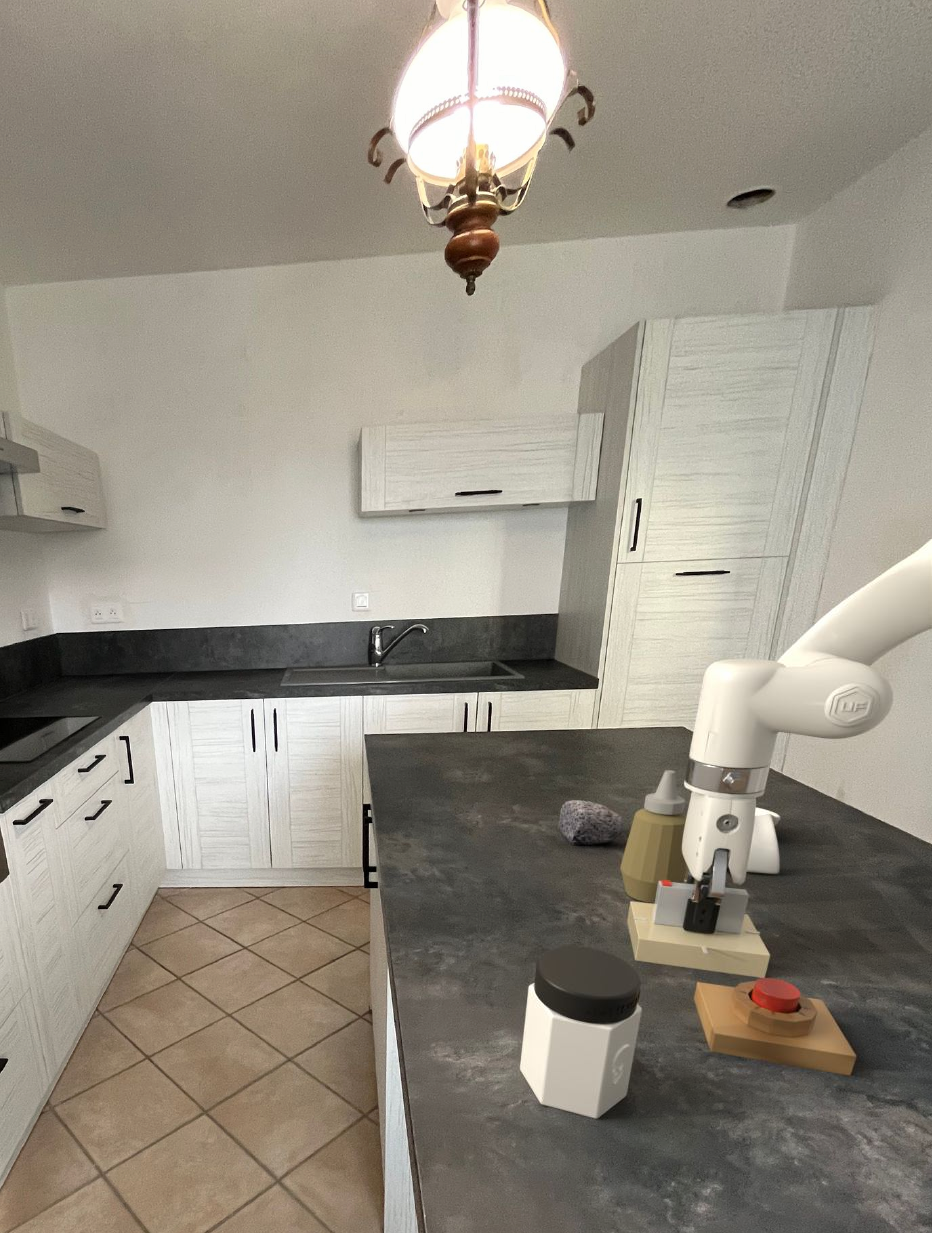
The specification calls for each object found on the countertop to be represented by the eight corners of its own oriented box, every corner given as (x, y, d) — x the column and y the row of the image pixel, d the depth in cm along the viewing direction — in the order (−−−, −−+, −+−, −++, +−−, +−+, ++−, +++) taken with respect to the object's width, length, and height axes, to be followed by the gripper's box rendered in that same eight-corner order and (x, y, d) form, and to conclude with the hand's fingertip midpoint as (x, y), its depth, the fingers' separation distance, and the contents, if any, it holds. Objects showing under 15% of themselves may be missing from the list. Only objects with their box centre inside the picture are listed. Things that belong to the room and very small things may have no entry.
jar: (583, 1134, 56) (602, 1012, 52) (502, 1079, 63) (513, 967, 58) (642, 1087, 61) (664, 972, 57) (561, 1041, 67) (575, 934, 63)
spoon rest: (687, 818, 122) (694, 780, 120) (763, 824, 119) (772, 785, 116) (715, 871, 102) (725, 826, 99) (809, 880, 98) (822, 833, 95)
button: (789, 996, 67) (794, 981, 66) (801, 1017, 64) (806, 1002, 63) (747, 990, 68) (750, 975, 67) (756, 1011, 65) (760, 995, 64)
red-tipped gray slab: (737, 927, 80) (746, 887, 79) (740, 934, 79) (749, 893, 77) (651, 917, 83) (658, 878, 82) (653, 923, 82) (660, 884, 80)
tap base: (740, 929, 86) (746, 907, 85) (769, 986, 74) (776, 961, 73) (625, 915, 90) (628, 894, 89) (635, 967, 79) (639, 943, 78)
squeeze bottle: (617, 879, 101) (635, 761, 94) (680, 888, 97) (703, 766, 91) (615, 902, 94) (635, 777, 87) (682, 912, 90) (708, 783, 84)
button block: (817, 1017, 69) (826, 984, 68) (850, 1076, 61) (862, 1039, 60) (693, 999, 73) (700, 966, 71) (710, 1052, 65) (718, 1017, 64)
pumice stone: (609, 846, 118) (552, 824, 121) (629, 806, 115) (570, 785, 118) (609, 867, 109) (547, 843, 112) (630, 825, 106) (566, 802, 109)
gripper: (788, 801, 66) (749, 964, 73) (746, 758, 80) (717, 898, 87) (700, 795, 69) (669, 954, 75) (675, 755, 83) (651, 891, 90)
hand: (695, 923), depth 81 cm, fingers closed
